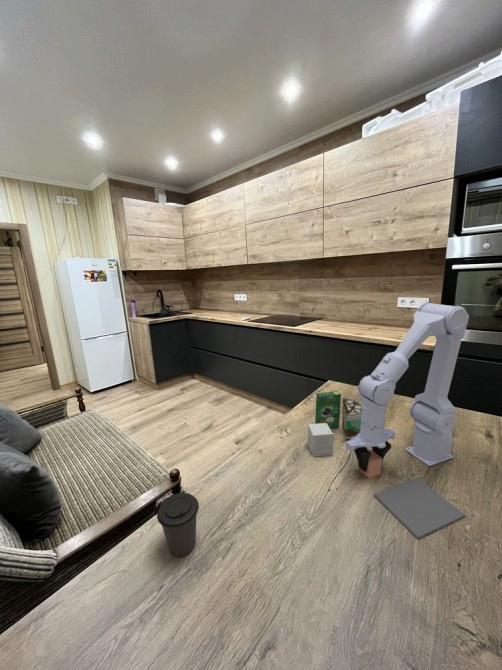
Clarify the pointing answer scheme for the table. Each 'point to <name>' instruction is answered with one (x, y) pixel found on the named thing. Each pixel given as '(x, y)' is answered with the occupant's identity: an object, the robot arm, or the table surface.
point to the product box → (320, 439)
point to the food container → (351, 418)
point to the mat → (419, 507)
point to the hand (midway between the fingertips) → (369, 466)
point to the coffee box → (328, 408)
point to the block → (373, 465)
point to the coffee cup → (179, 523)
